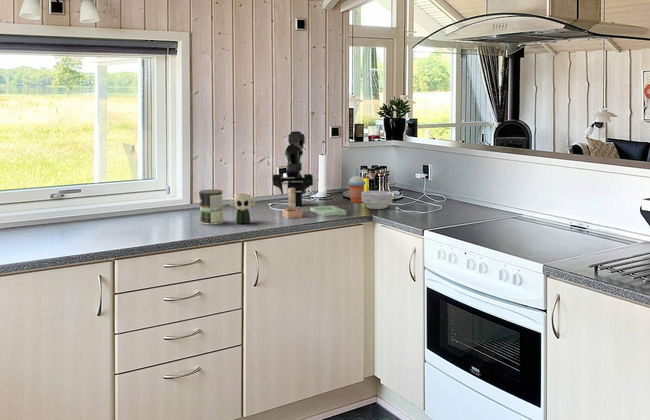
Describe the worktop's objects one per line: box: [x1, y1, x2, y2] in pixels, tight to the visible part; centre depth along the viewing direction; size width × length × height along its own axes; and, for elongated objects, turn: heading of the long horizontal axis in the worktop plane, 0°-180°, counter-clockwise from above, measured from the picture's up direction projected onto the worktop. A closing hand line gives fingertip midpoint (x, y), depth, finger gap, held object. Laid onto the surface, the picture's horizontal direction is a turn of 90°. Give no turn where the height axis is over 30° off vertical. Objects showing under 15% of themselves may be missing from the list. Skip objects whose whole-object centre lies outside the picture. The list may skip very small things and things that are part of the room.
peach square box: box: [281, 208, 303, 219], centre depth 290 cm, size 7×7×4 cm
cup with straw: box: [347, 167, 366, 204], centre depth 330 cm, size 9×9×18 cm
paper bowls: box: [361, 190, 393, 210], centre depth 313 cm, size 15×15×8 cm
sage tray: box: [309, 205, 347, 217], centre depth 300 cm, size 16×12×2 cm
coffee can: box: [198, 189, 225, 226], centre depth 280 cm, size 10×10×14 cm
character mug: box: [229, 192, 256, 224], centre depth 278 cm, size 11×7×13 cm, turn 98°
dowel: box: [287, 187, 297, 212], centre depth 289 cm, size 3×3×13 cm
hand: (292, 194), depth 292 cm, fingers open, 9 cm apart
